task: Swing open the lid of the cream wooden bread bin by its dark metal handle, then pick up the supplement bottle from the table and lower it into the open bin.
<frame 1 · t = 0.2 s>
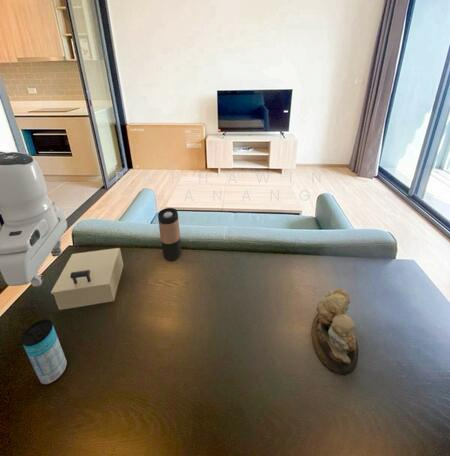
hand: (48, 268, 61), 26 cm above the table, tool pointing down, fingers open, 8 cm apart
bin lid: (87, 263, 82), point 10 cm above the table, hinge at 0.0°
travel mug: (172, 255, 100), on the table
bread bin: (94, 285, 86), on the table
supplement bottle: (54, 372, 62), on the table
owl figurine: (333, 342, 68), on the table
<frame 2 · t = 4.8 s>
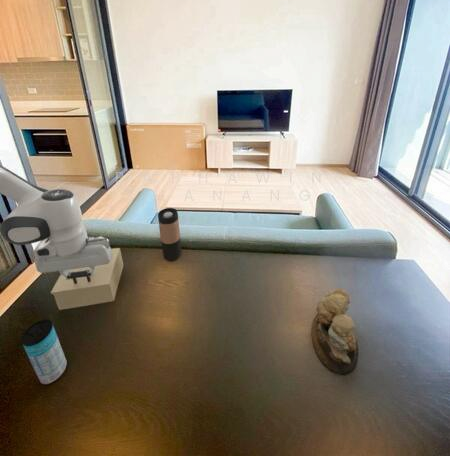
hand: (80, 276, 77), 11 cm above the table, tool pointing down, fingers closed on bin lid, 5 cm apart
bin lid: (87, 263, 82), point 10 cm above the table, hinge at 0.0°, touching gripper
everything else where it was.
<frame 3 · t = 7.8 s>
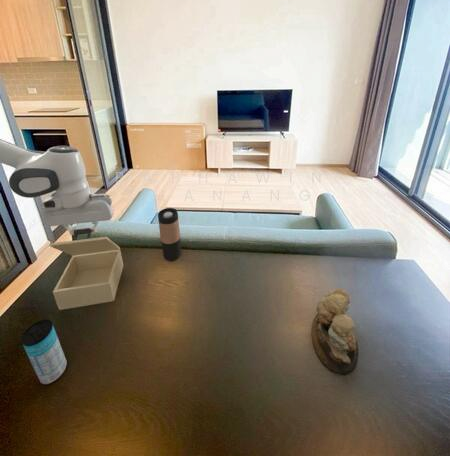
hand: (84, 232, 81), 21 cm above the table, tool pointing down, fingers closed on bin lid, 5 cm apart
bin lid: (89, 240, 85), point 16 cm above the table, hinge at 52.4°, touching gripper
everything else where it was.
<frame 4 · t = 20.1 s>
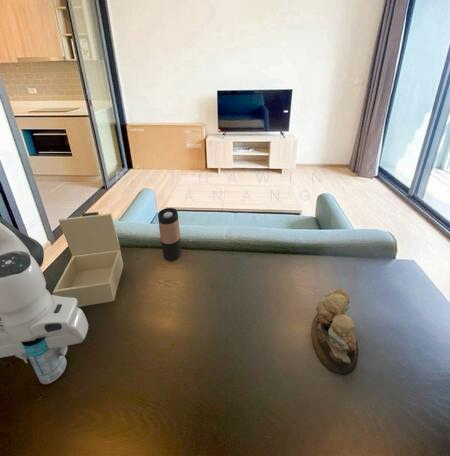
hand: (47, 356, 60), 6 cm above the table, tool pointing down, fingers closed on supplement bottle, 6 cm apart
bin lid: (93, 230, 89), point 17 cm above the table, hinge at 84.2°
supplement bottle: (54, 372, 62), on the table, touching gripper
everything else where it was.
when the fingers open (9 cm above the table, at t = 28.8 s): supplement bottle drops 2 cm, resting on bread bin.
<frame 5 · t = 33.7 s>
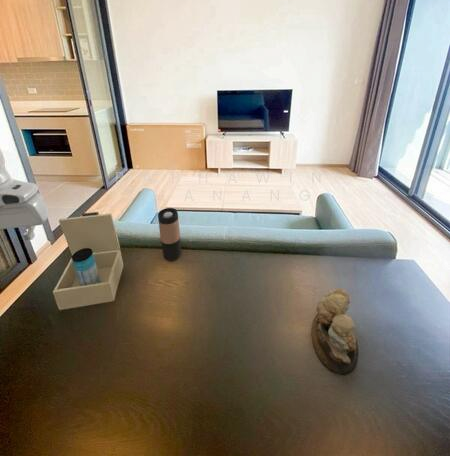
hand: (9, 240, 63), 31 cm above the table, tool pointing down, fingers open, 8 cm apart
supplement bottle: (91, 289, 84), point 1 cm above the table, touching bread bin
everything else where it was.
at the end: bin lid at +84° (first picture: +0°); supplement bottle inside the target area in the bread bin (2.0 cm from its centre), point 0.6 cm above the bread bin's base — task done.
